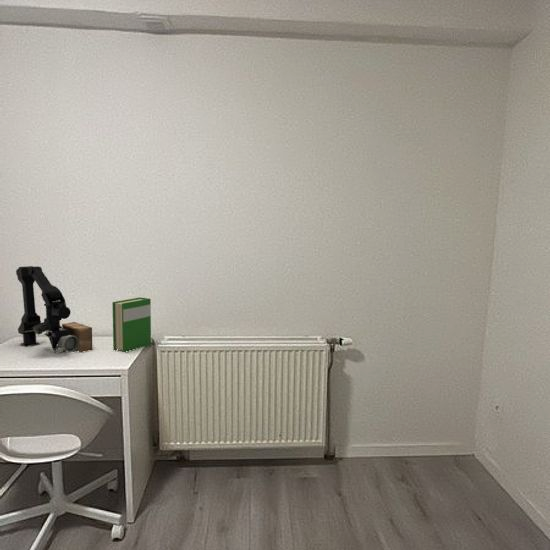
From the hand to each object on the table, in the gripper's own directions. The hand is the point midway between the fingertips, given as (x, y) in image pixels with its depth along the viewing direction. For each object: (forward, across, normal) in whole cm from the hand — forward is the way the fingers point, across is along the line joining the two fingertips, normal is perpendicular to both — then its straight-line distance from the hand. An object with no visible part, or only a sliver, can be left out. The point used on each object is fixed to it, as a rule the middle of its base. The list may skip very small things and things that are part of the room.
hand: (54, 348), depth 202 cm
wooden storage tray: (+2, 0, +11) cm, 11 cm away
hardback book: (+2, +19, +30) cm, 36 cm away
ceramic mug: (+2, +1, +5) cm, 6 cm away
